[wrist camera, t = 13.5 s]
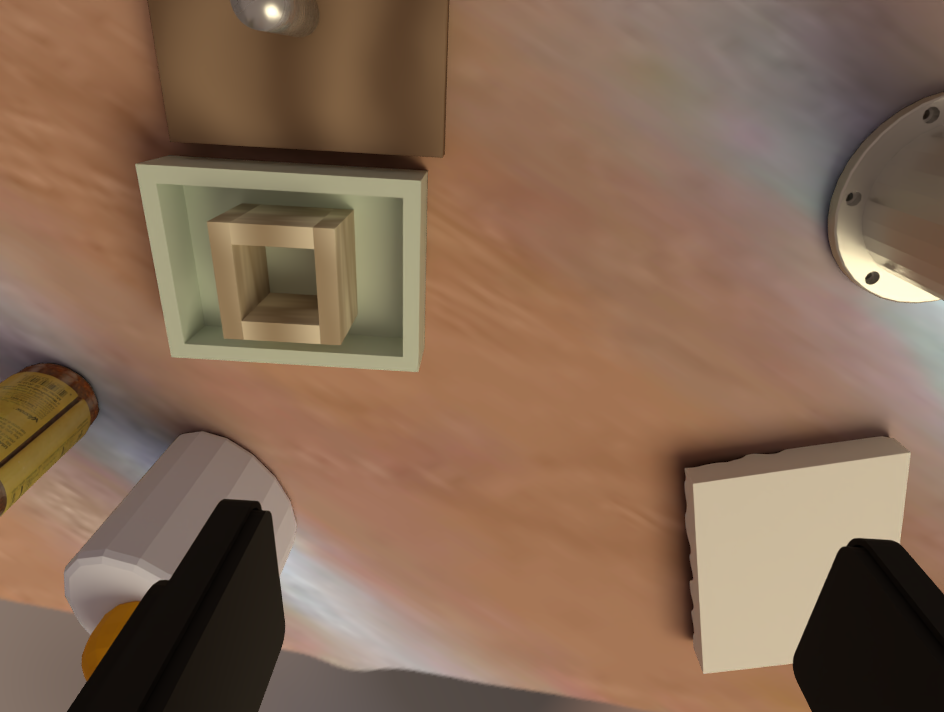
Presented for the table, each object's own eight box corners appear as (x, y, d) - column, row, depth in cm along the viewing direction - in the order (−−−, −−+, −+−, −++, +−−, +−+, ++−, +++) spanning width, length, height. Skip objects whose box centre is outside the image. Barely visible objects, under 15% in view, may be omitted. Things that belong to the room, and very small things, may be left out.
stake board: (453, -136, 30) (451, -147, 28) (444, 154, 36) (442, 157, 35) (137, -154, 30) (121, -165, 29) (182, 139, 36) (170, 141, 35)
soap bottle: (142, 450, 46) (-87, 698, 28) (225, 410, 44) (39, 647, 26) (245, 564, 51) (107, 839, 33) (323, 532, 49) (224, 804, 31)
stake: (318, -14, 31) (281, -31, 26) (320, 38, 32) (286, 31, 27) (272, -16, 31) (226, -35, 26) (276, 36, 32) (232, 29, 27)
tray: (427, 170, 36) (421, 180, 33) (424, 347, 42) (418, 371, 38) (168, 155, 36) (135, 163, 33) (197, 333, 42) (171, 357, 38)
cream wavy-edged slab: (679, 457, 46) (690, 640, 54) (692, 483, 43) (703, 673, 51) (881, 427, 45) (863, 620, 52) (910, 452, 41) (886, 652, 49)
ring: (353, 209, 37) (334, 228, 32) (357, 314, 40) (340, 345, 35) (241, 203, 37) (206, 221, 32) (254, 308, 40) (223, 338, 35)
